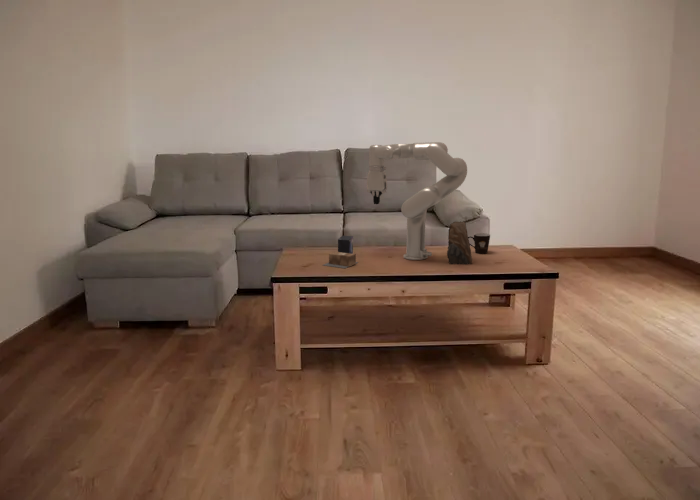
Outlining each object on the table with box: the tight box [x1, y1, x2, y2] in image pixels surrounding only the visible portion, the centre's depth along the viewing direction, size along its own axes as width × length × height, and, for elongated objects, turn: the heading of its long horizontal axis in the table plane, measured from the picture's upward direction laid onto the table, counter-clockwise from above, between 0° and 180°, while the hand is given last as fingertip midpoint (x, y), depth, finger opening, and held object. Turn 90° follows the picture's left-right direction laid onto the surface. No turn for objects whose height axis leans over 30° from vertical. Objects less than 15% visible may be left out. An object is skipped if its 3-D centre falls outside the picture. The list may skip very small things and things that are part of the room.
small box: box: [337, 235, 354, 254], centre depth 308 cm, size 11×6×10 cm, turn 168°
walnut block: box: [328, 251, 357, 268], centre depth 293 cm, size 5×6×12 cm
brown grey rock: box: [446, 220, 473, 265], centre depth 295 cm, size 13×13×20 cm
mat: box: [322, 261, 359, 269], centre depth 294 cm, size 13×13×1 cm
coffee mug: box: [468, 232, 491, 255], centre depth 316 cm, size 12×9×10 cm
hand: (376, 203), depth 310 cm, fingers closed
